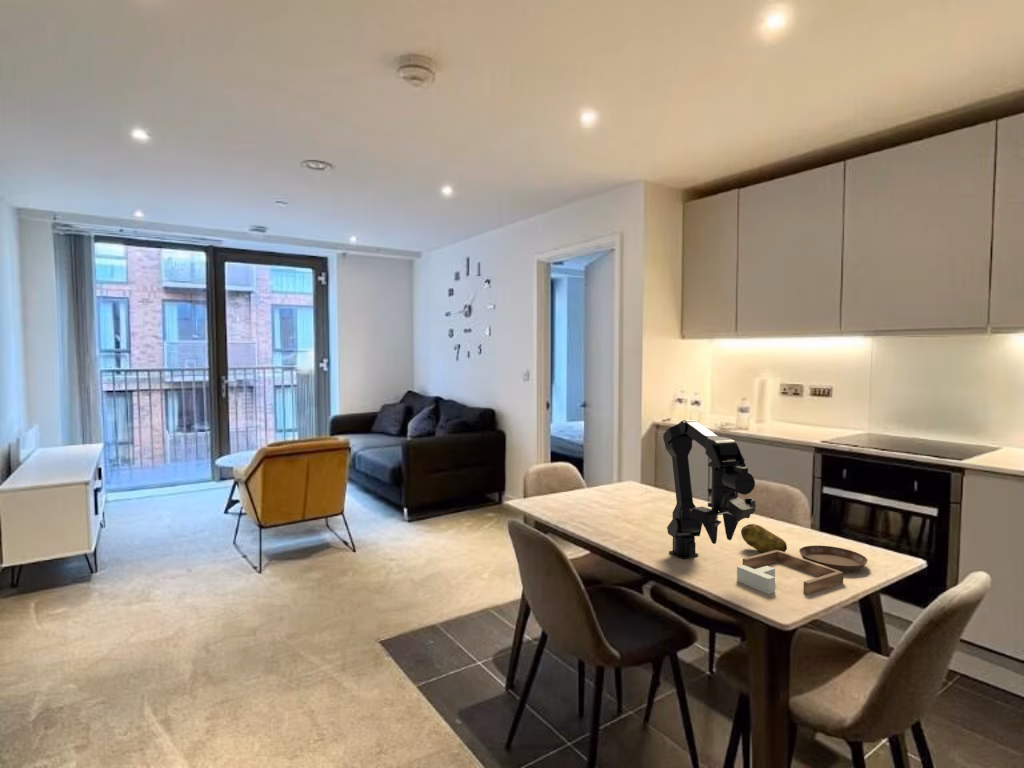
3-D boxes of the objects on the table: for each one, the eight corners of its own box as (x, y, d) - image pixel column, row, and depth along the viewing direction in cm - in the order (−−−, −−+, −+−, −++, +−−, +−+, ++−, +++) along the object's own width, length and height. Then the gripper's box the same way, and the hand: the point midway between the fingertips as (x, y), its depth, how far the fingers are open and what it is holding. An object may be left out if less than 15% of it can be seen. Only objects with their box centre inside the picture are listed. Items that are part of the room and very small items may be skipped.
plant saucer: (806, 550, 182) (806, 540, 182) (871, 562, 171) (871, 552, 170) (792, 566, 168) (792, 556, 168) (862, 581, 157) (862, 570, 157)
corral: (742, 568, 166) (742, 558, 166) (777, 559, 173) (777, 549, 173) (807, 594, 148) (807, 583, 148) (843, 583, 155) (843, 572, 155)
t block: (736, 580, 157) (737, 566, 157) (755, 575, 161) (755, 561, 161) (768, 594, 148) (768, 579, 148) (787, 588, 152) (787, 573, 152)
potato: (776, 560, 172) (776, 534, 172) (736, 548, 183) (737, 524, 182) (789, 554, 178) (790, 528, 177) (750, 543, 188) (750, 519, 187)
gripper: (722, 496, 144) (721, 556, 145) (770, 487, 153) (769, 544, 154) (689, 487, 154) (688, 544, 155) (736, 479, 163) (735, 533, 164)
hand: (721, 541), depth 157 cm, fingers open, 6 cm apart
